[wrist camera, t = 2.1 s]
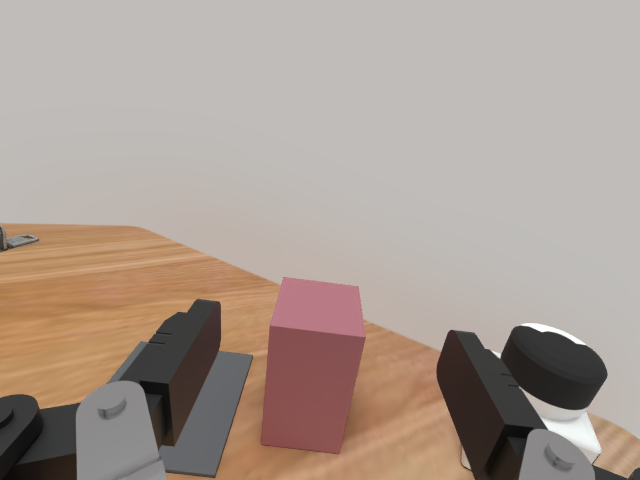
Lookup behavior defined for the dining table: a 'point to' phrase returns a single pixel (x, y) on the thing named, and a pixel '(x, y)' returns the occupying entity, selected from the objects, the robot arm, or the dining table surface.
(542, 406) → the medicine bottle
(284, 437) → the tall pink pillar
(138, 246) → the dining table surface
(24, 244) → the strap clip
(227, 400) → the mat
